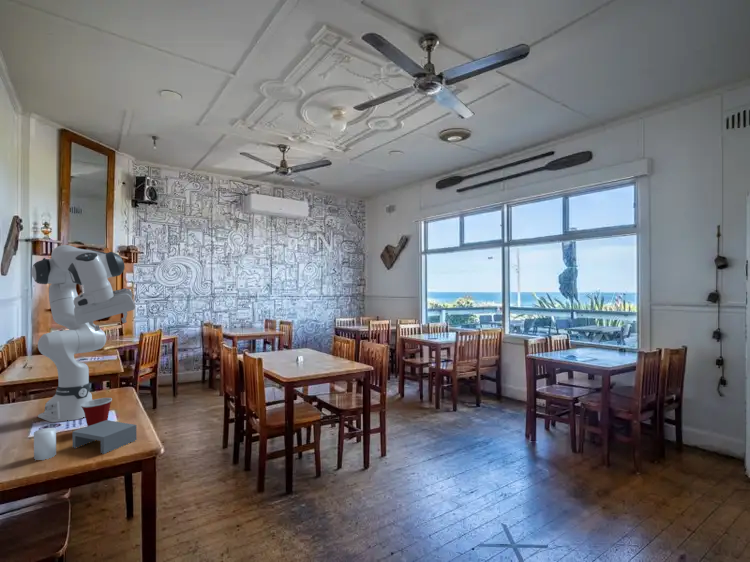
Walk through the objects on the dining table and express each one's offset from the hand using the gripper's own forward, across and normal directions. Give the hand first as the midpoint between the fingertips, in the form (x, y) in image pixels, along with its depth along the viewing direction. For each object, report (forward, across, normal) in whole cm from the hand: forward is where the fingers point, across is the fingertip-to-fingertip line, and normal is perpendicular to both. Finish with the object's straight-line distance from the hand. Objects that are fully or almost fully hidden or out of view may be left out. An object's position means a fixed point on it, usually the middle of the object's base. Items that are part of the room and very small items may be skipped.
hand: (111, 326), depth 165 cm
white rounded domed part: (+31, +30, +22) cm, 49 cm away
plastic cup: (+41, +17, +3) cm, 44 cm away
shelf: (+36, +14, +21) cm, 44 cm away
